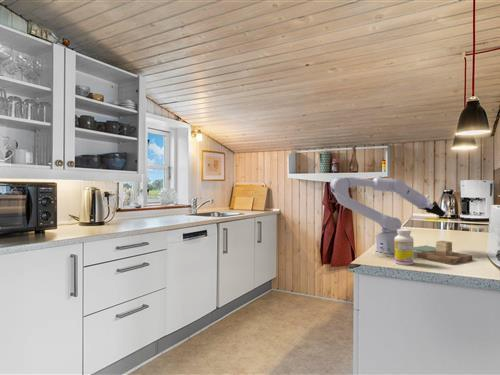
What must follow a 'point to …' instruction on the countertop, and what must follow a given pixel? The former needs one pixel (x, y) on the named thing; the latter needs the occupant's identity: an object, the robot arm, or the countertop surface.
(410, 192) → the robot arm
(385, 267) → the countertop surface
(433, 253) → the pocket plate
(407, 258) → the supplement bottle
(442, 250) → the maple block
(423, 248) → the rubber mat
